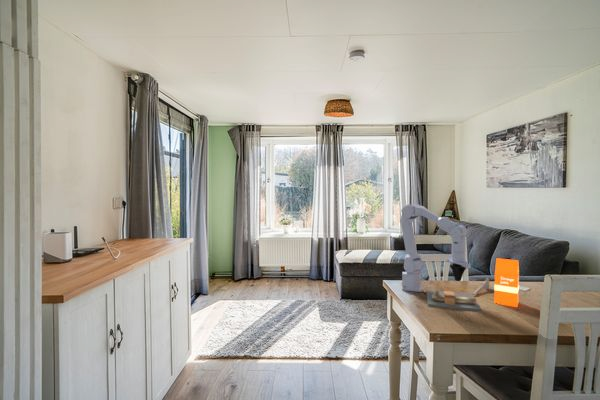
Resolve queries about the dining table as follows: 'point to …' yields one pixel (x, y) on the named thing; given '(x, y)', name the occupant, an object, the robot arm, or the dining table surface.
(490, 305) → the dining table surface
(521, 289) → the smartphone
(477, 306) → the keeper board
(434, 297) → the link
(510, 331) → the dining table surface
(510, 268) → the orange juice
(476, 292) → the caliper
